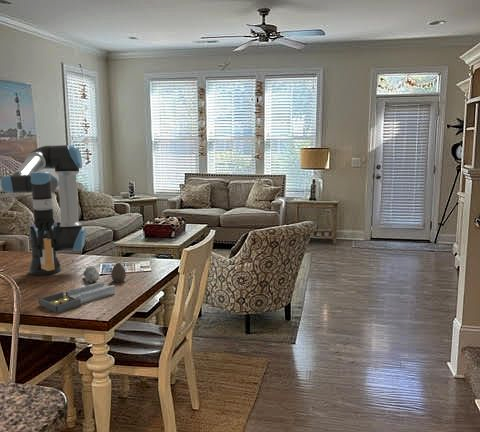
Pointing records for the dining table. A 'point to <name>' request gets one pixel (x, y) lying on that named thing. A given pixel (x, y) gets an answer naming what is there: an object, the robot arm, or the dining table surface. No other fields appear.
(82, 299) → the slot rail
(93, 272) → the mineral specimen
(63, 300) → the gold domed disc
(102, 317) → the dining table surface
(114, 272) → the vase
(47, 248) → the orange l-shaped bar
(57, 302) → the gold domed disc
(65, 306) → the tray
